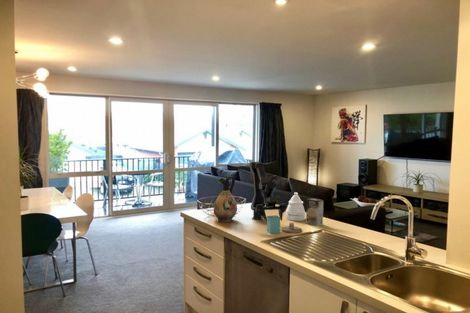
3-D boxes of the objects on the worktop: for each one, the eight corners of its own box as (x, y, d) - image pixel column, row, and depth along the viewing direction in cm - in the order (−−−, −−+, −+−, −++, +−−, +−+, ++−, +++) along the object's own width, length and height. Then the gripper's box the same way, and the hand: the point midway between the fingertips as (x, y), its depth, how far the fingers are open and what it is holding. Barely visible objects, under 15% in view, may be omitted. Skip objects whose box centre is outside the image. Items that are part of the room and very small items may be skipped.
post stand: (282, 227, 213) (282, 220, 213) (302, 228, 211) (302, 221, 210) (280, 232, 202) (280, 224, 202) (301, 234, 199) (301, 226, 199)
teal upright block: (266, 230, 205) (267, 215, 205) (276, 230, 206) (276, 215, 206) (270, 233, 199) (270, 218, 199) (280, 233, 201) (280, 217, 200)
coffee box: (305, 223, 224) (306, 198, 223) (311, 221, 228) (311, 197, 227) (317, 226, 217) (318, 200, 216) (323, 224, 221) (323, 199, 220)
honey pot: (304, 221, 230) (305, 194, 229) (285, 220, 232) (285, 193, 231) (304, 216, 242) (305, 191, 241) (286, 215, 245) (286, 190, 244)
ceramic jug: (221, 224, 218) (221, 177, 217) (209, 219, 231) (209, 175, 229) (243, 221, 228) (244, 176, 226) (230, 216, 241) (231, 173, 239)
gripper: (256, 191, 204) (261, 213, 193) (286, 190, 208) (293, 212, 198) (252, 201, 212) (257, 224, 202) (281, 200, 216) (287, 222, 206)
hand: (274, 220), depth 201 cm, fingers open, 9 cm apart
